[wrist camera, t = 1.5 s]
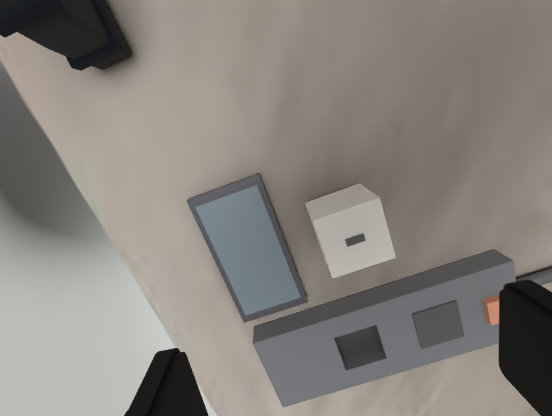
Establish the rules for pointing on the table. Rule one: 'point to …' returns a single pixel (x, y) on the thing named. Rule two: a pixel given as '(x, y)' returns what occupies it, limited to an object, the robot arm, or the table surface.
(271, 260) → the phone
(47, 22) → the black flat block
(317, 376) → the power strip
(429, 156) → the table surface
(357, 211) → the charger plug
